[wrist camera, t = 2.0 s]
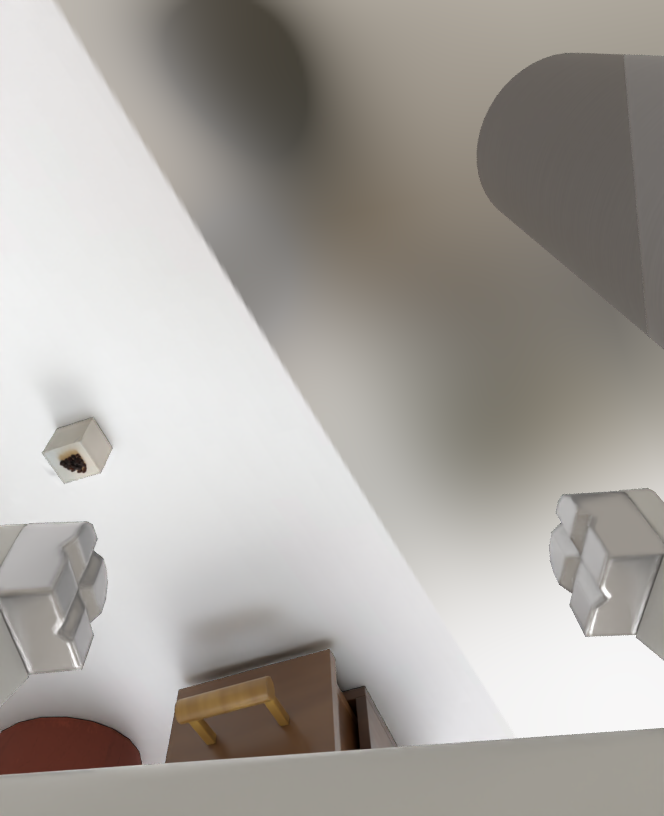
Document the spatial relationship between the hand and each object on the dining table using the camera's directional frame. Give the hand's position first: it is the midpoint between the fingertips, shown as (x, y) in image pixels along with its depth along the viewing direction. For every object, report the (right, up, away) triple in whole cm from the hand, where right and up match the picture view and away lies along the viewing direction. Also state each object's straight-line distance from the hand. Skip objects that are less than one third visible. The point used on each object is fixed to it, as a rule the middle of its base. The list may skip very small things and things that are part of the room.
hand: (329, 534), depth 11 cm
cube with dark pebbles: (-13, +1, +22) cm, 26 cm away
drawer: (-4, -20, +34) cm, 39 cm away
